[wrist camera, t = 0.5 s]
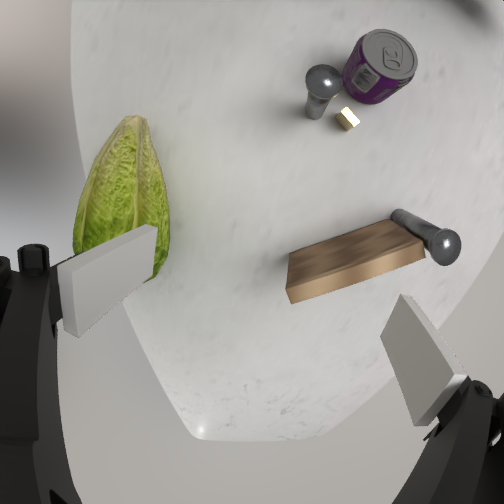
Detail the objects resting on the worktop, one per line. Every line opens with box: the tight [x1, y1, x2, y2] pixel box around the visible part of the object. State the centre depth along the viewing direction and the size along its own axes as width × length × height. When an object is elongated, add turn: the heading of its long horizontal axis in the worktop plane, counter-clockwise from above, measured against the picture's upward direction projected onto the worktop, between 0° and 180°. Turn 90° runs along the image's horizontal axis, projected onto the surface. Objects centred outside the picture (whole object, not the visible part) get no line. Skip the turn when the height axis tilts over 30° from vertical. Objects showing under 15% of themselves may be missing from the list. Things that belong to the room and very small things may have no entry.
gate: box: [285, 219, 426, 304], centre depth 32 cm, size 15×3×12 cm, turn 112°
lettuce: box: [73, 116, 170, 284], centre depth 36 cm, size 15×24×14 cm, turn 171°
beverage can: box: [342, 29, 418, 104], centre depth 25 cm, size 7×7×12 cm
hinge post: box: [391, 209, 461, 266], centre depth 29 cm, size 4×4×15 cm
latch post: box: [305, 64, 343, 120], centre depth 27 cm, size 3×3×15 cm
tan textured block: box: [336, 107, 360, 131], centre depth 31 cm, size 1×2×5 cm, turn 42°
